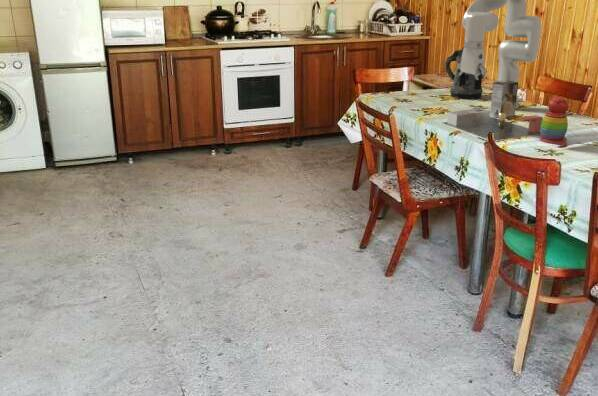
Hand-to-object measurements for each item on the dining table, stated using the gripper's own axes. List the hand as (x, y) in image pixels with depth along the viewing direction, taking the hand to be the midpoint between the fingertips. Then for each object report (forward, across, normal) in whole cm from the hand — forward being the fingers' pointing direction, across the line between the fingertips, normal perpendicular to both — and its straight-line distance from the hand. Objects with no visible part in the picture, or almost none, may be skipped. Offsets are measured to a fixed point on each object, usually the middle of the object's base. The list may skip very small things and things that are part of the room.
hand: (469, 87), depth 243 cm
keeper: (+15, -23, -12) cm, 30 cm away
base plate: (+16, -11, -4) cm, 20 cm away
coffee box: (+17, +4, -24) cm, 29 cm away
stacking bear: (+17, -36, -12) cm, 42 cm away
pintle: (+15, -11, -10) cm, 21 cm away
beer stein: (+16, +50, -39) cm, 66 cm away
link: (+15, 0, -1) cm, 15 cm away
